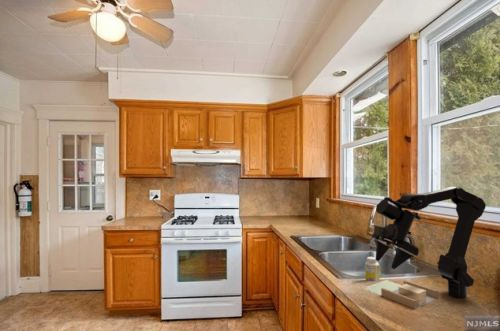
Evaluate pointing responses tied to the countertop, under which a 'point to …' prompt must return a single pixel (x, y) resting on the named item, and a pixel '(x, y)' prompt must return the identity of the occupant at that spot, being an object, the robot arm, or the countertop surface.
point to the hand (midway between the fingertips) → (384, 264)
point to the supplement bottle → (372, 269)
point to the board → (392, 293)
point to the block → (413, 293)
